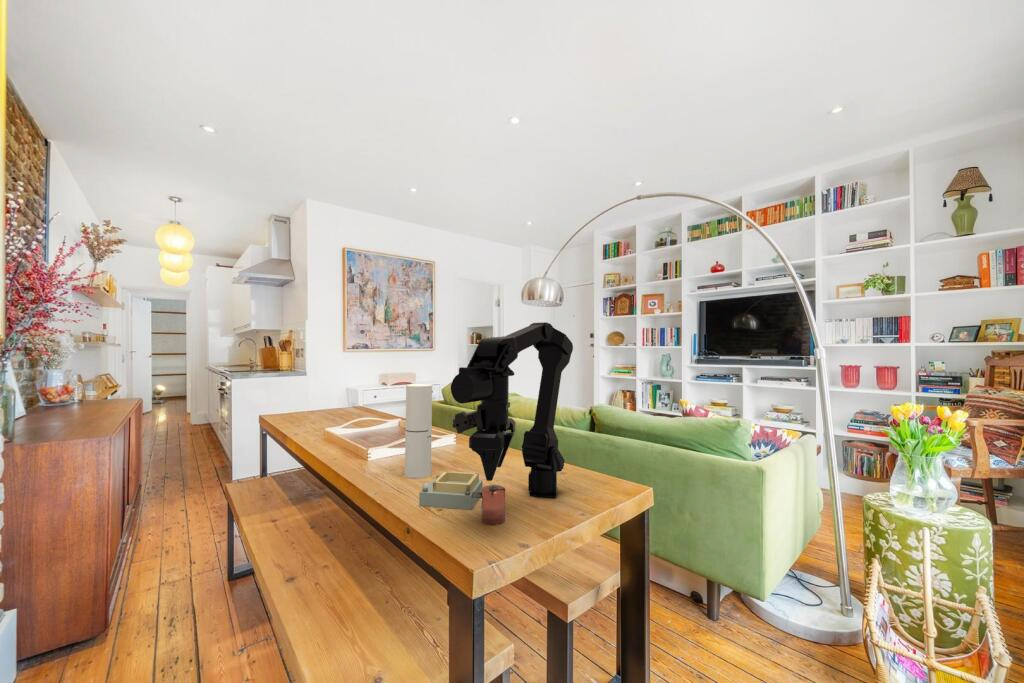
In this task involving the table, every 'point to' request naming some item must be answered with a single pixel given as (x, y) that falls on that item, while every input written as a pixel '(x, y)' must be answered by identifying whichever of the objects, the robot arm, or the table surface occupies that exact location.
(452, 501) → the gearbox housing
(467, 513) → the table surface
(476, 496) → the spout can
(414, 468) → the cylindrical container
